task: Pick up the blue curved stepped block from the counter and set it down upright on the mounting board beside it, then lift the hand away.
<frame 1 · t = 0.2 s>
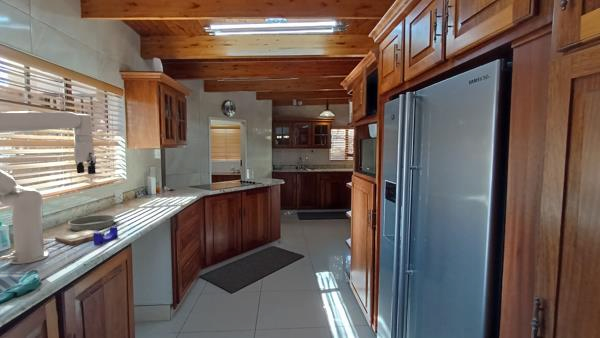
hand: (86, 173, 152), 36 cm above the table, tool pointing down, fingers open, 9 cm apart
cake pan: (93, 226, 187), on the table
blue curved stepped block: (105, 241, 158), on the table
mounting board: (80, 238, 161), on the table
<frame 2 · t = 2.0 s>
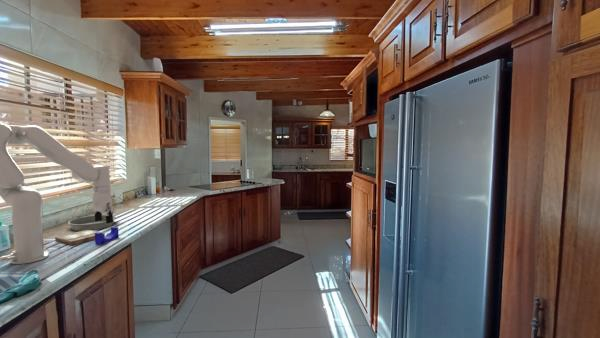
hand: (104, 221, 157), 10 cm above the table, tool pointing down, fingers open, 9 cm apart
nothing on the table moved.
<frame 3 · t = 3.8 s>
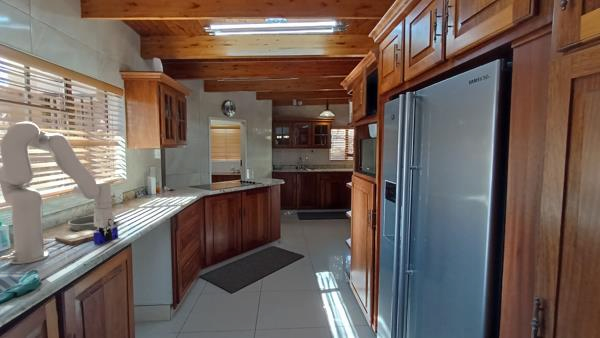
hand: (105, 239, 158), 1 cm above the table, tool pointing down, fingers closed on blue curved stepped block, 5 cm apart
blue curved stepped block: (105, 241, 158), on the table, touching gripper
everything else where it was.
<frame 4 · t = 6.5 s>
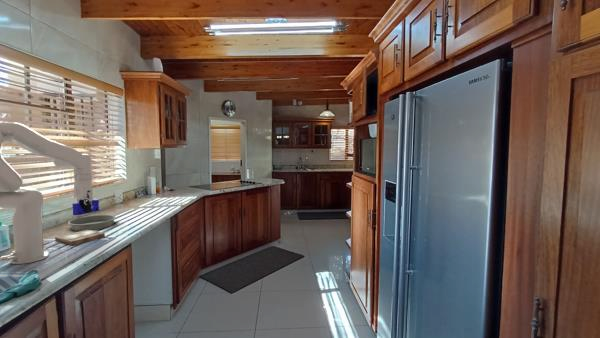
hand: (84, 211, 159), 15 cm above the table, tool pointing down, fingers closed on blue curved stepped block, 5 cm apart
blue curved stepped block: (85, 213, 159), point 14 cm above the table, touching gripper
everything else where it was.
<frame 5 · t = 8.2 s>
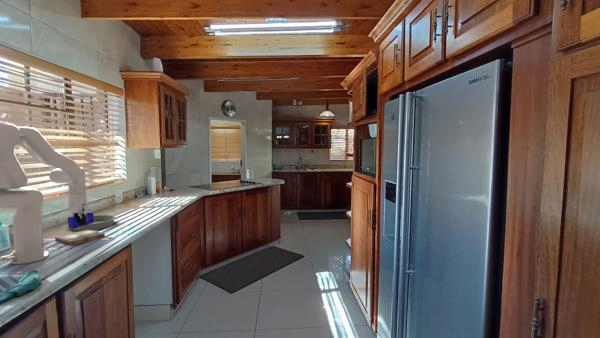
hand: (80, 223, 161), 8 cm above the table, tool pointing down, fingers closed on blue curved stepped block, 5 cm apart
blue curved stepped block: (80, 225, 161), point 7 cm above the table, touching gripper
everything else where it was.
when the fingers open (4 cm above the table, at t = 9.3 s): blue curved stepped block drops 1 cm, resting on mounting board.
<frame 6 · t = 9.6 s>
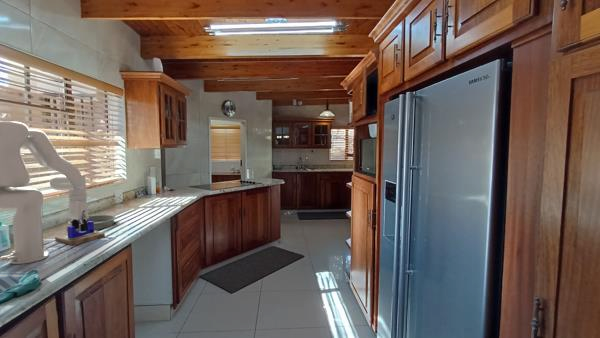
hand: (80, 229, 161), 5 cm above the table, tool pointing down, fingers open, 8 cm apart
blue curved stepped block: (80, 235, 161), point 2 cm above the table, touching mounting board
everything else where it was.
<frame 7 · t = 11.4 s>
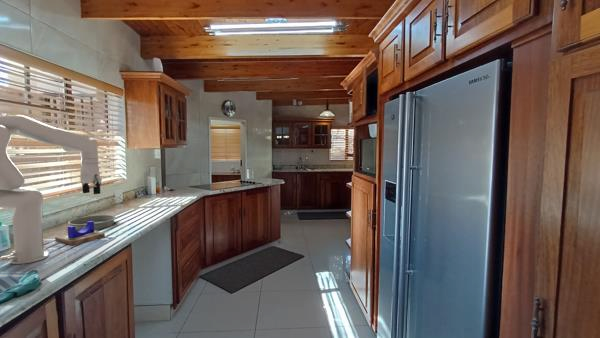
hand: (91, 193, 162), 24 cm above the table, tool pointing down, fingers open, 9 cm apart
nothing on the table moved.
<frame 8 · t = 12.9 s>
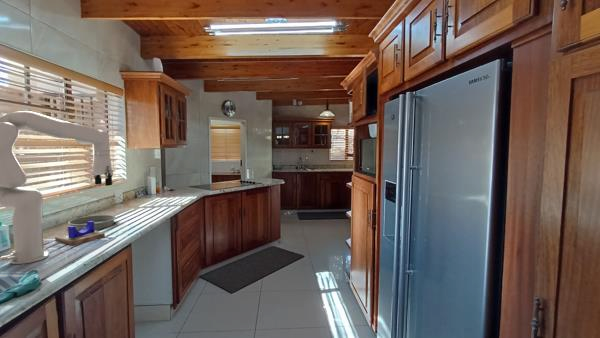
hand: (103, 184, 165), 28 cm above the table, tool pointing down, fingers open, 9 cm apart
nothing on the table moved.
at the end: blue curved stepped block inside the target area on the mounting board (0.4 cm from its centre), point 2.0 cm above the mounting board's base; blue curved stepped block tilted 0°; the gripper is holding nothing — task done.
